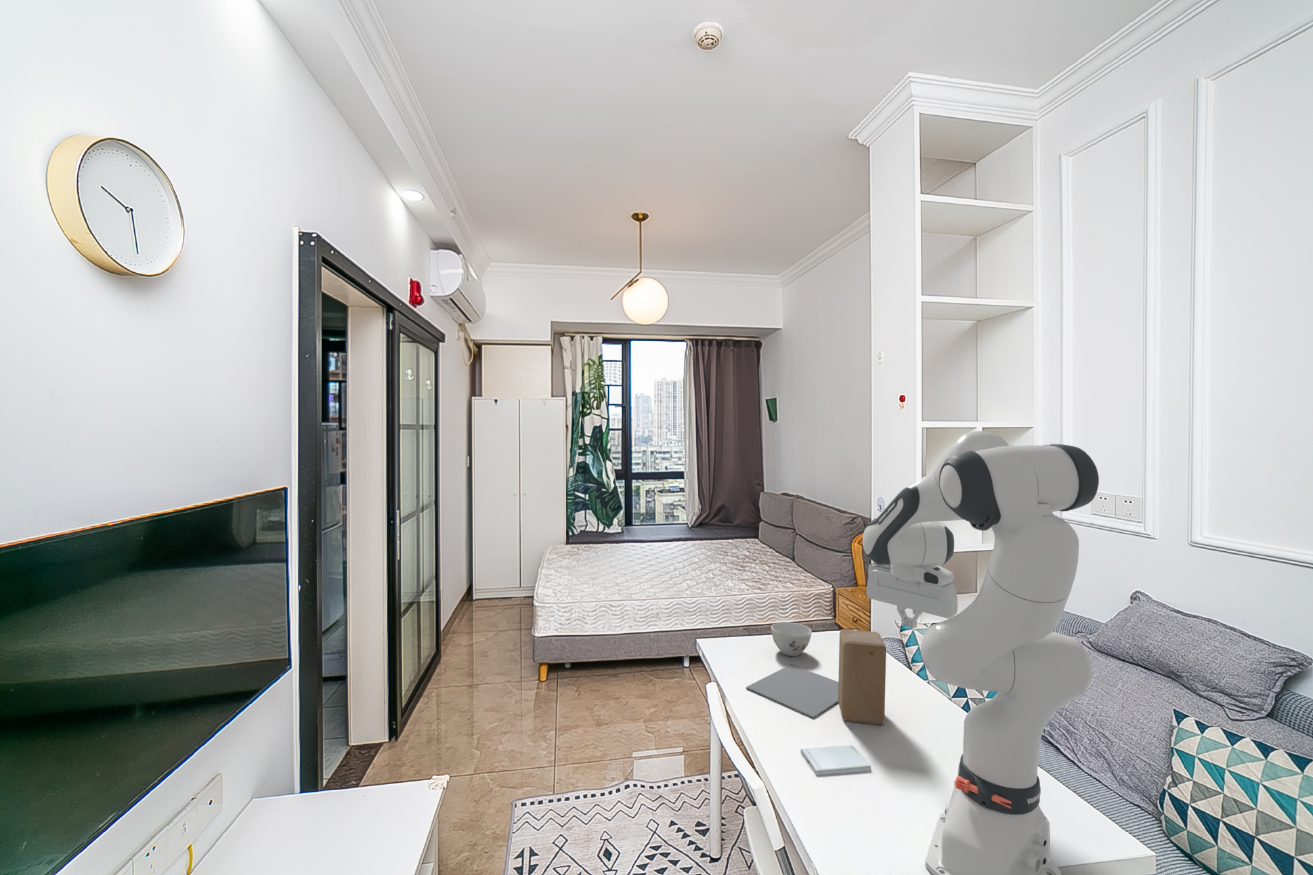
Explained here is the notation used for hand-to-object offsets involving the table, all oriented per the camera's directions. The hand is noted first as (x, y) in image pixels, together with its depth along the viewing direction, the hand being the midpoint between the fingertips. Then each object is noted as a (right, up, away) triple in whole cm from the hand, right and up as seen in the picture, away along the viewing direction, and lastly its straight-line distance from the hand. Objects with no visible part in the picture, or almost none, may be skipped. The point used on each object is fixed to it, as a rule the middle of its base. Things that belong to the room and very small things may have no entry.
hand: (909, 626), depth 134 cm
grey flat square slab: (-20, -25, +22) cm, 39 cm away
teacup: (-17, -24, +48) cm, 56 cm away
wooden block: (-8, -26, +9) cm, 28 cm away
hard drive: (-21, -27, -11) cm, 36 cm away
